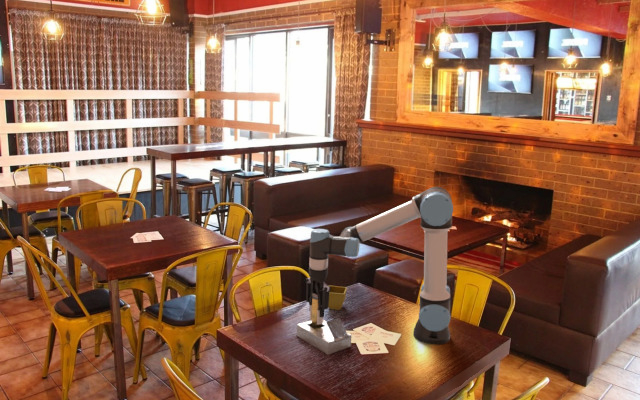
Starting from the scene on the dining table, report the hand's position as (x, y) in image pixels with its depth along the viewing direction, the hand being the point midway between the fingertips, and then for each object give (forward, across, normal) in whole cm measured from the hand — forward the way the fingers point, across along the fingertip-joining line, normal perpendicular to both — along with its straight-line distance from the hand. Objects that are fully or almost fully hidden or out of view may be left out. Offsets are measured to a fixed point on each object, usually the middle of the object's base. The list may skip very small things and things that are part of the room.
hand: (316, 321), depth 233 cm
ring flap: (-1, -13, 0) cm, 13 cm away
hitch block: (+7, -5, 0) cm, 8 cm away
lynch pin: (+4, 0, 0) cm, 4 cm away
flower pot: (+7, +18, -27) cm, 33 cm away
